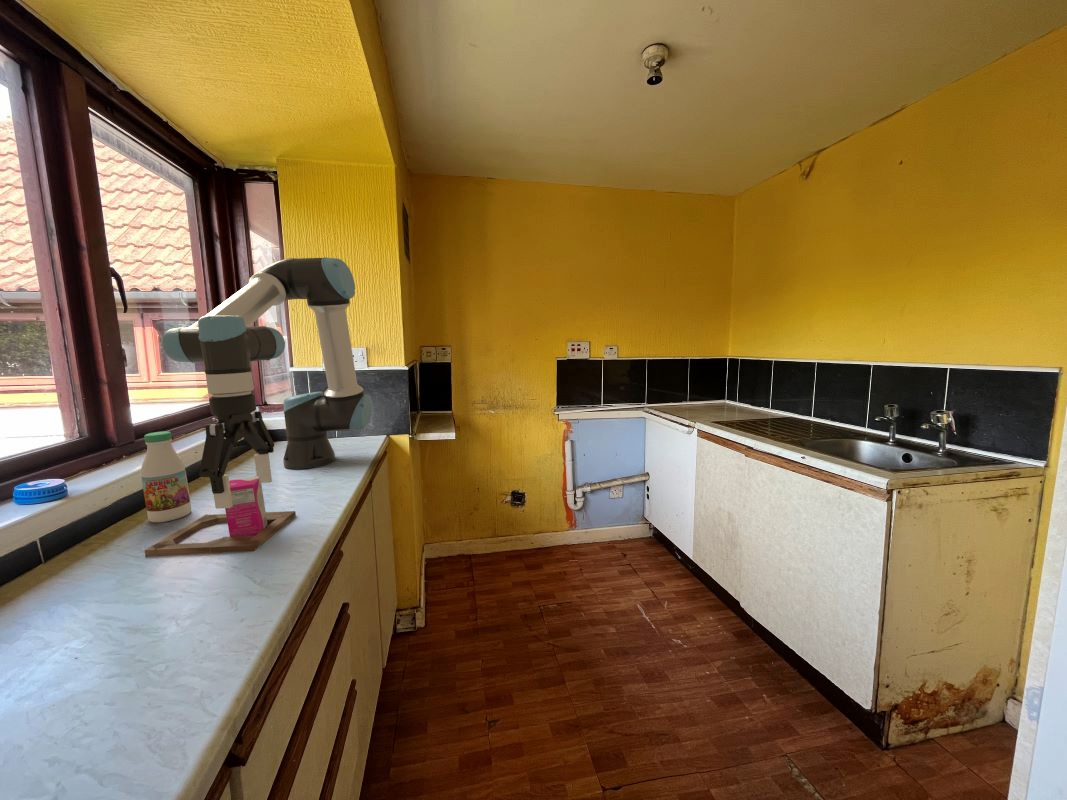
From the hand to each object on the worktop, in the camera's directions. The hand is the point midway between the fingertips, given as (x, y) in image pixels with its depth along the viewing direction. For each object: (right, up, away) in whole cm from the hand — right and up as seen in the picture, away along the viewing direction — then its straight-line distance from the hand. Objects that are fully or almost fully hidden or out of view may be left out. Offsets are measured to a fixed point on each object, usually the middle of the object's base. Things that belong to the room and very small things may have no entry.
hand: (246, 494), depth 87 cm
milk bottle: (-25, -8, +10) cm, 28 cm away
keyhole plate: (-4, -9, +1) cm, 10 cm away
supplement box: (0, -9, +1) cm, 9 cm away
